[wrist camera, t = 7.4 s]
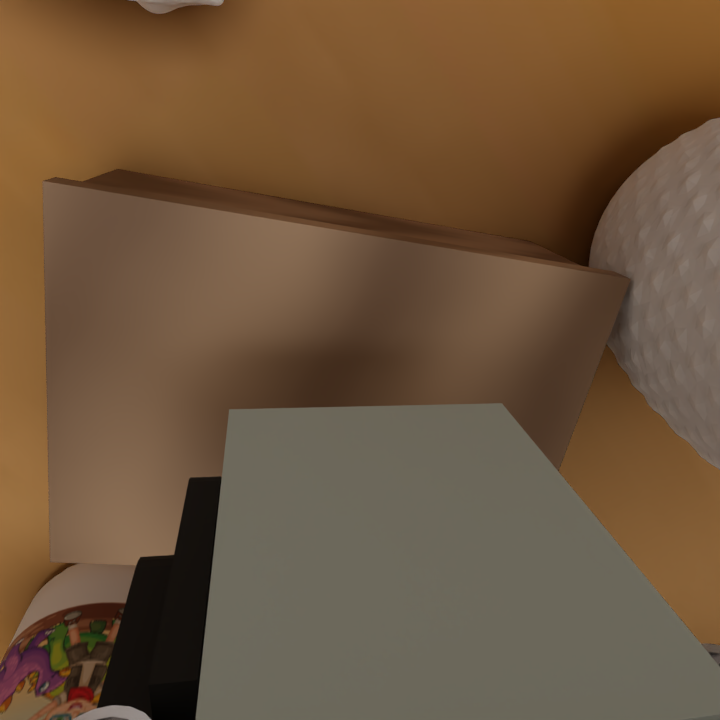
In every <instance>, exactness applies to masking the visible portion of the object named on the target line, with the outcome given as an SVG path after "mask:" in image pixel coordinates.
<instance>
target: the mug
mask: <svg viewBox="0 0 720 720" xmlns="http://www.w3.org/2000/svg"><path fill="white" fill-rule="evenodd" d="M589 267H591V268H597V269H603V270H609V271H614V272H617V273H619V274H621V275H623V276H625V277H628V278H630V279H631V280H630V283H629V285H628V288H627V291H626V293H625V296H624V299H623V301H622V304H621V306H620V309H619V312H618V314H617V317H616V320H615V322H614V325H613V328H612V330H611V333H610V336H609V338H608V341H607V346H608V347H609V348H610V349H611V350H612V352H613V353H614V355H615V357H616V360H617V362H618V365H619V366H620V367H621V368H622V369H623V370H624V371H625V372H626V373H627V374H628V376H629V378H630V381H631V384H632V385H633V386H634V387H635V388H636V389H637V390H638V391H639V392H641V393H642V394H643V395H644V397H645V399H646V401H647V403H648V405H649V406H650V407H651V408H652V409H653V410H654V411H656V412H657V413H659V414H660V415H661V416H662V417H663V418H664V419H665V420H666V422H667V423H668V425H669V427H670V428H671V429H673V430H674V432H675V433H676V434H677V435H678V436H680V437H682V438H683V439H685V440H686V441H687V442H689V444H690V445H691V446H692V447H693V448H694V449H695V450H696V452H697V453H698V454H699V456H701V457H702V458H703V459H705V460H706V461H707V462H709V463H710V464H712V465H713V466H715V467H717V468H718V469H719V470H720V118H716V119H711V120H709V121H707V122H705V123H704V124H703V125H701V126H700V127H698V128H696V129H694V130H692V131H689V132H686V133H684V134H682V135H681V136H680V137H679V138H677V139H676V140H675V141H673V142H672V143H670V144H668V145H666V146H664V147H662V148H661V149H660V150H659V151H658V152H657V153H656V154H654V155H653V156H652V157H650V158H649V159H648V160H647V161H645V162H644V163H643V164H642V165H641V166H640V167H639V168H638V169H636V170H635V171H634V172H633V173H632V174H631V175H630V176H629V177H628V178H627V180H626V181H625V182H624V183H623V184H622V185H621V187H620V188H619V189H618V191H617V192H616V193H615V195H614V196H613V197H612V199H611V201H610V202H609V204H608V206H607V207H606V209H605V211H604V213H603V215H602V217H601V219H600V221H599V223H598V226H597V229H596V231H595V234H594V238H593V242H592V246H591V251H590V259H589Z"/></svg>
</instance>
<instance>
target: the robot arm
mask: <svg viewBox="0 0 720 720" xmlns="http://www.w3.org/2000/svg"><path fill="white" fill-rule="evenodd" d="M221 480H222V478H221V476H216V477H191V478H189V481H188V486H187V491H186V496H185V502H184V507H183V512H182V517H181V522H180V527H179V532H178V537H177V542H176V547H175V552H174V555H164V556H148V557H140V559H139V560H138V562H137V565H136V568H135V571H134V575H133V578H132V582H131V586H130V589H129V593H128V596H127V600H126V604H125V607H124V611H123V615H122V618H121V622H120V625H119V629H118V633H117V636H116V640H115V644H114V647H113V651H112V654H111V658H110V662H109V665H108V669H107V672H106V676H105V680H104V683H103V687H102V691H101V694H100V698H99V701H98V705H97V709H93V710H91V711H89V712H86V713H84V714H82V715H80V716H78V717H76V718H74V719H72V720H196V710H197V701H198V692H199V683H200V674H201V664H202V655H203V646H204V637H205V627H206V618H207V609H208V600H209V591H210V581H211V572H212V563H213V554H214V545H215V535H216V526H217V517H218V508H219V498H220V489H221ZM702 646H703V647H704V648H705V649H706V651H707V652H708V653H709V654H710V655H711V657H712V658H713V659H714V660H715V661H716V663H717V664H718V665H719V666H720V646H719V645H715V644H702Z"/></svg>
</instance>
